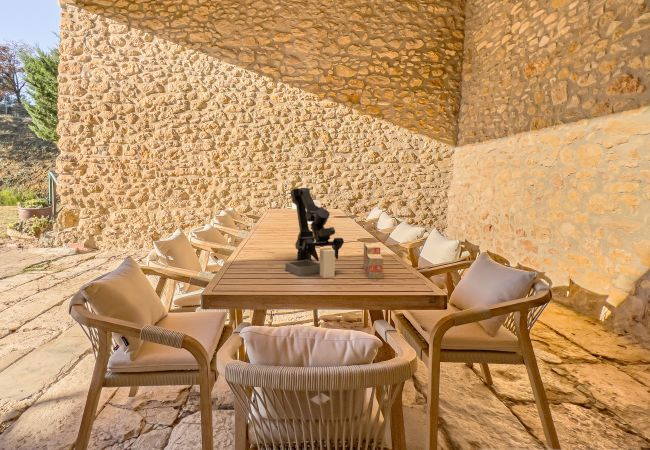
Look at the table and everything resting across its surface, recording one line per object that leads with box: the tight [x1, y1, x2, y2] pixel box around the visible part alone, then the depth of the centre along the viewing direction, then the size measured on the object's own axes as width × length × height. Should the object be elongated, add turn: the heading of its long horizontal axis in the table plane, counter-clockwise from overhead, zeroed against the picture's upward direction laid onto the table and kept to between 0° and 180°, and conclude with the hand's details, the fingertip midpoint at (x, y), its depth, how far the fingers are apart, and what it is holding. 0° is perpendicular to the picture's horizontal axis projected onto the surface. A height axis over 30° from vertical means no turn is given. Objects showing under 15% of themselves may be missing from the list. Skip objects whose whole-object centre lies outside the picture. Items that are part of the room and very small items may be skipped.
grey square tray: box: [284, 259, 320, 277], centre depth 175 cm, size 13×13×4 cm
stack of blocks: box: [363, 242, 384, 279], centre depth 175 cm, size 21×6×12 cm, turn 1°
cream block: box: [319, 248, 336, 279], centre depth 167 cm, size 5×5×12 cm
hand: (327, 259), depth 166 cm, fingers open, 9 cm apart
